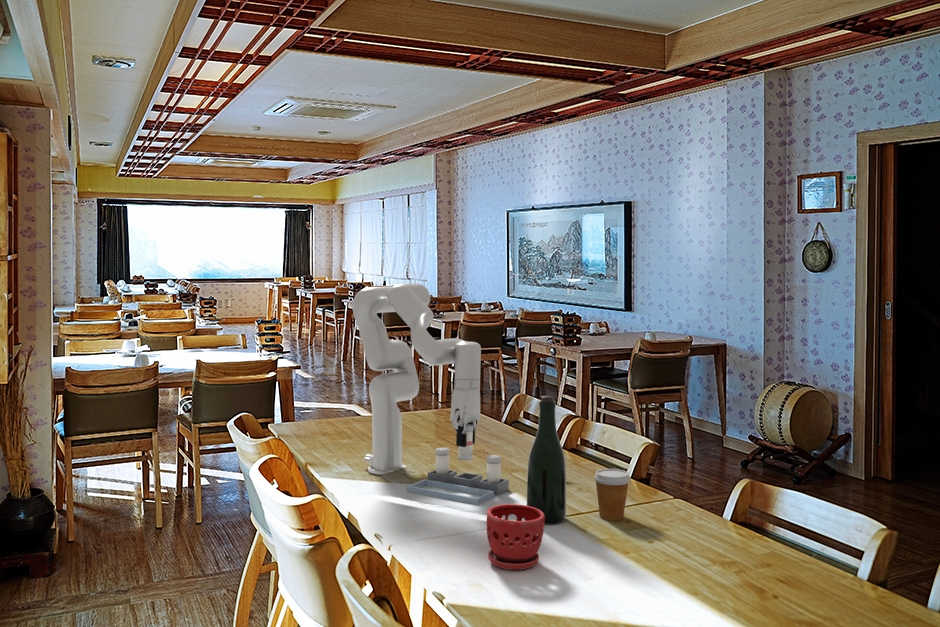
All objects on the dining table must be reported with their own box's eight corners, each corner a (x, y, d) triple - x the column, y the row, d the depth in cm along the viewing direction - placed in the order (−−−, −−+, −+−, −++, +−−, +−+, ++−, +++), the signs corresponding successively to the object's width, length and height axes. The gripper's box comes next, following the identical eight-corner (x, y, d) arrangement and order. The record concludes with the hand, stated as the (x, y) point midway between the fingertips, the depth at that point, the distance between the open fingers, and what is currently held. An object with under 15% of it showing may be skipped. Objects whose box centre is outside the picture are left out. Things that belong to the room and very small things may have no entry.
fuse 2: (483, 491, 237) (483, 457, 236) (491, 487, 240) (491, 454, 240) (496, 493, 235) (496, 459, 234) (503, 490, 238) (503, 456, 238)
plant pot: (501, 578, 177) (502, 523, 176) (477, 557, 189) (477, 506, 188) (554, 569, 182) (555, 516, 181) (527, 549, 194) (527, 500, 193)
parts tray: (406, 496, 237) (406, 486, 237) (424, 489, 244) (424, 479, 244) (477, 509, 224) (477, 499, 224) (494, 501, 232) (494, 491, 232)
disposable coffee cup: (608, 524, 212) (608, 479, 211) (586, 514, 221) (587, 470, 220) (637, 519, 216) (637, 474, 216) (614, 509, 225) (615, 466, 224)
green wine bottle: (519, 515, 219) (520, 394, 217) (553, 511, 223) (555, 391, 221) (538, 527, 210) (539, 400, 207) (573, 522, 214) (574, 397, 212)
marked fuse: (455, 458, 242) (456, 425, 241) (462, 455, 245) (463, 423, 244) (467, 461, 239) (468, 427, 239) (474, 458, 243) (475, 425, 242)
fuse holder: (425, 488, 245) (425, 473, 245) (440, 481, 252) (440, 467, 252) (496, 501, 233) (496, 485, 232) (510, 494, 239) (510, 479, 239)
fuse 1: (432, 482, 246) (432, 449, 246) (440, 479, 250) (440, 446, 249) (444, 484, 244) (444, 451, 243) (451, 481, 248) (451, 448, 247)
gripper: (471, 378, 249) (469, 437, 251) (440, 386, 235) (439, 448, 237) (492, 381, 245) (490, 441, 247) (462, 389, 231) (461, 452, 233)
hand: (465, 444), depth 242 cm, fingers closed on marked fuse, 4 cm apart
